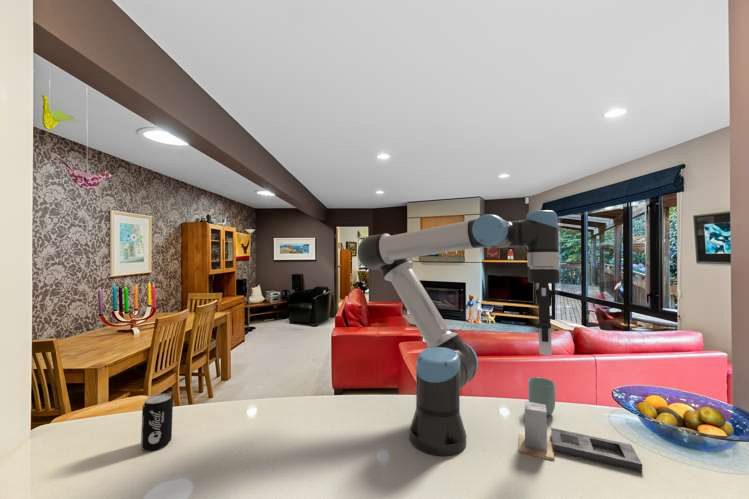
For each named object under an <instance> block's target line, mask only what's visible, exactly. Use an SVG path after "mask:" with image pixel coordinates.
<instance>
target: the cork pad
mask: <svg viewBox="0 0 749 499" xmlns="http://www.w3.org/2000/svg"><path fill="white" fill-rule="evenodd" d="M518 438H519V439H518V453H522V454H525V455H531V456H532V457H533V456H534V457H537V458H538V457H539V458H542V459H546V460H551V461H554V462H555V454H554V453H555V452H554V451H553V443H552V440H551V441H550V440H547V453H544V452H540V451H536V450H532V449H527V448H525V434H519V437H518Z"/></svg>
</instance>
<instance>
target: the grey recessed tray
mask: <svg viewBox="0 0 749 499" xmlns="http://www.w3.org/2000/svg"><path fill="white" fill-rule="evenodd" d="M550 430H551V431H550V434H551V442H552V443H553V451H554V453H555V454H560V455H564V456H569V457H573V458H577V459H581V460H585V461H590V462H594V463H598V464H603V465H606V466H610V467H614V468H618V469H624V470H627V471H631V472H636V473H639V474H643V463H642V461H641V460H640V458H639V456H638V454H637V453H636V451H635V449H634V446H633V445H632V444H630V443H625V442H622V441H615V440H610V439H608V438H607V439H606V438H602V437H596V436H592V435H587V434H583V433H578V432H573V431H568V430H567V431H566V430H563V429H559V428H553V427H551V429H550ZM594 448H599V449H604V450H607V451H613V452H617V453H619V455H620V456H618V455H614V454H610V453H606V452H601V451H597V450H594Z"/></svg>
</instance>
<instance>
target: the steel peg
mask: <svg viewBox="0 0 749 499" xmlns="http://www.w3.org/2000/svg"><path fill="white" fill-rule="evenodd" d="M547 417H548V415H547V411H546V405H544V404H539V403H533V402H529V400H528V401H527V400H525V401H524V436H525V448H527V449H532V450H536V451H540V452H544V453H547V441H548V429H547V428H548V423H547V422H548V418H547Z"/></svg>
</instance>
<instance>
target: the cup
mask: <svg viewBox="0 0 749 499" xmlns="http://www.w3.org/2000/svg"><path fill="white" fill-rule="evenodd" d="M527 391H528V392H527V393H528V394H527V396H528V402H533V403H539V404H544V405H546V411H547V416H550V415H552V414H553V413H554V411H555V407H556V384H555V382H554V381H553V380H551V379H549V378H545V377H540V376H539V377H537V376H534V377H533V376H532V377H528V381H527Z"/></svg>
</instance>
